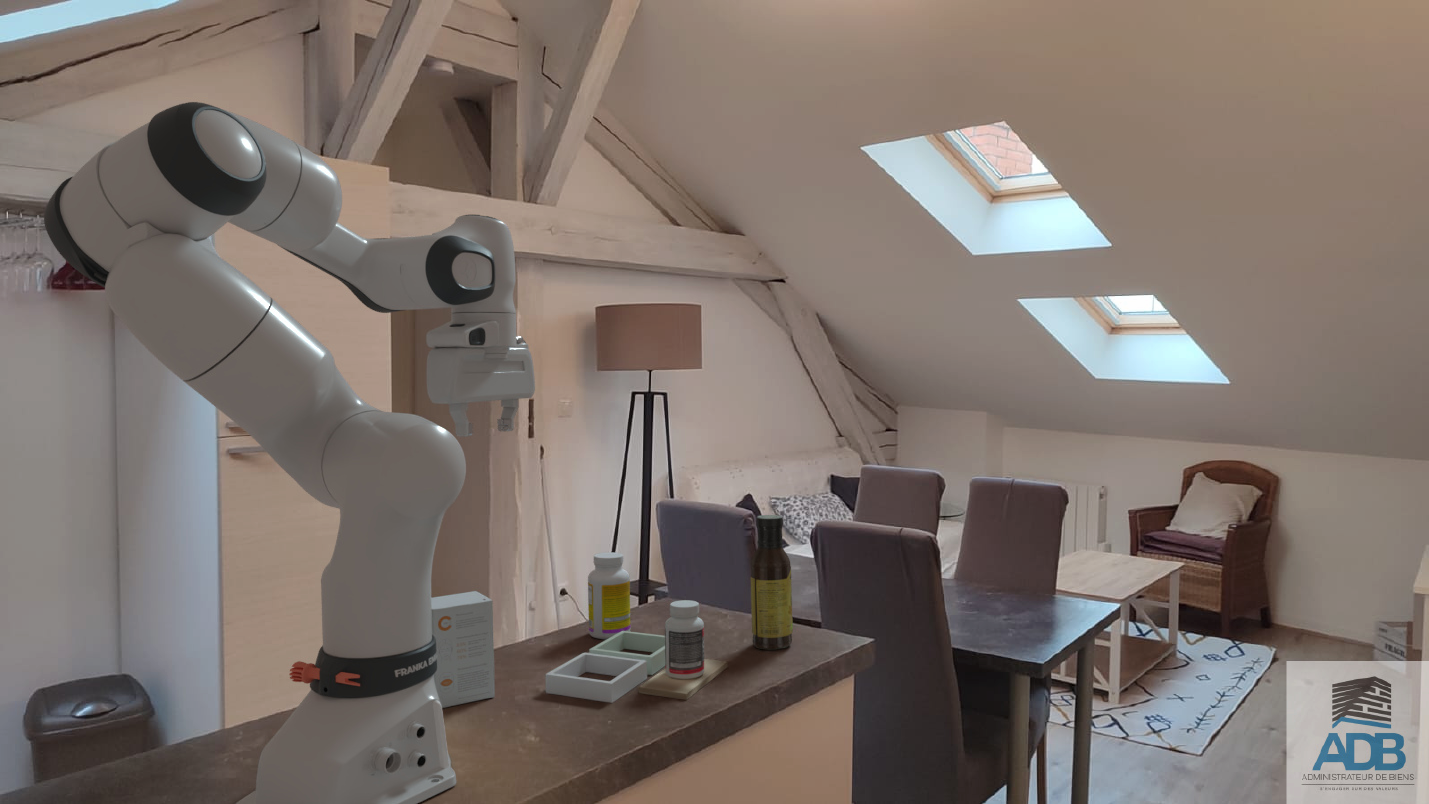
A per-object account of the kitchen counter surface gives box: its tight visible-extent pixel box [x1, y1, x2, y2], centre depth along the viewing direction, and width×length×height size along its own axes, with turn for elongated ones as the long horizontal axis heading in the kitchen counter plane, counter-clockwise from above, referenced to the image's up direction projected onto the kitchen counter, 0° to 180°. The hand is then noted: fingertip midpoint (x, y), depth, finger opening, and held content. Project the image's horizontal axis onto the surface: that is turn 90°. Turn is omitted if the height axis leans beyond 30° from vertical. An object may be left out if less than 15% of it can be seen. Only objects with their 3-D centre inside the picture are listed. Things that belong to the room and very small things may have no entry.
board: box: [638, 658, 728, 701], centre depth 133 cm, size 14×7×1 cm, turn 157°
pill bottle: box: [664, 599, 705, 679], centre depth 133 cm, size 5×5×10 cm
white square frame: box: [545, 652, 648, 704], centre depth 131 cm, size 10×10×2 cm
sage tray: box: [588, 631, 665, 676], centre depth 141 cm, size 10×10×2 cm
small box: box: [431, 590, 496, 709], centre depth 127 cm, size 8×6×13 cm
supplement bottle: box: [587, 551, 631, 640], centre depth 154 cm, size 7×7×13 cm
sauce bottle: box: [750, 514, 794, 651], centre depth 148 cm, size 6×6×20 cm
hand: (485, 433), depth 136 cm, fingers open, 8 cm apart
